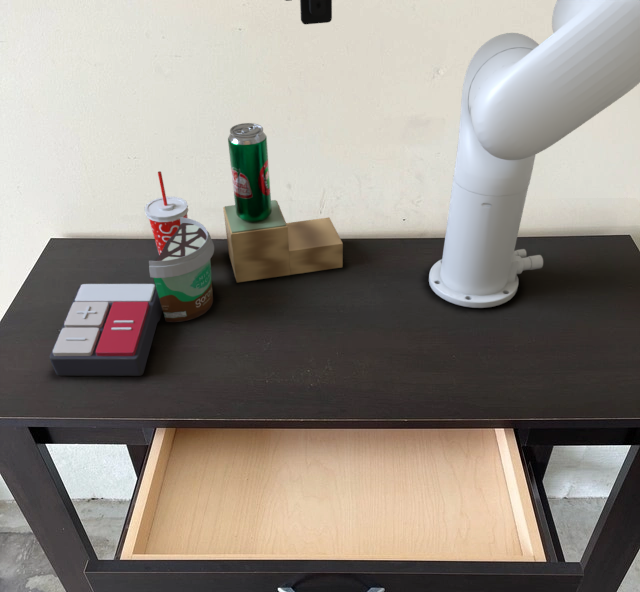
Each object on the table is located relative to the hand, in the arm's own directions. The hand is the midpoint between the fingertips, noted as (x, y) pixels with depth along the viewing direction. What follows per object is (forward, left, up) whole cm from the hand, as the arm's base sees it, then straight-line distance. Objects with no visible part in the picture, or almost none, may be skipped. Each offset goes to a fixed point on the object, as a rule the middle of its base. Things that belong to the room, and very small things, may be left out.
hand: (306, 10), depth 72 cm
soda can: (+7, -6, -26) cm, 28 cm away
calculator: (+29, +7, -34) cm, 45 cm away
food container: (+17, +2, -34) cm, 38 cm away
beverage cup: (+19, -10, -34) cm, 41 cm away
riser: (+3, -6, -34) cm, 35 cm away
